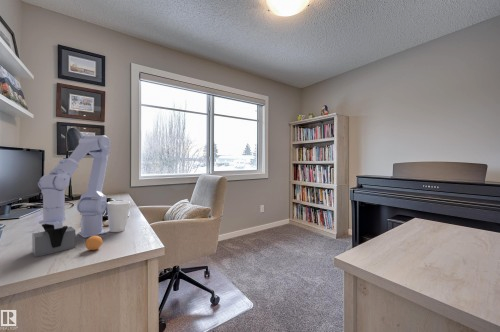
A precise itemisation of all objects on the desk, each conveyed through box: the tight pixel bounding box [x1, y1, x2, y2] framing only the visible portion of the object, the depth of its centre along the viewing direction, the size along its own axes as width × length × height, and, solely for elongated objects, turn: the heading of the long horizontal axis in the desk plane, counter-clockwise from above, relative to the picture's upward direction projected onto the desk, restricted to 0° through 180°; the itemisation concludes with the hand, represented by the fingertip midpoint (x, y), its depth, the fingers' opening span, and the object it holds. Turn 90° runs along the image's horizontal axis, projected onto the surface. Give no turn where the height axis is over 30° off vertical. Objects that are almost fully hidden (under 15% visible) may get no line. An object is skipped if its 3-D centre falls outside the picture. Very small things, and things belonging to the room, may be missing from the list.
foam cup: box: [106, 200, 132, 233], centre depth 99 cm, size 10×9×13 cm
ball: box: [84, 235, 103, 251], centre depth 77 cm, size 5×5×5 cm
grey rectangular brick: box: [31, 226, 76, 258], centre depth 76 cm, size 6×11×7 cm, turn 142°
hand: (54, 244), depth 76 cm, fingers closed on grey rectangular brick, 6 cm apart
